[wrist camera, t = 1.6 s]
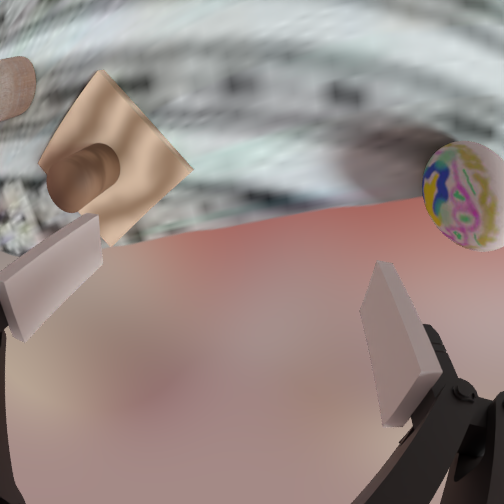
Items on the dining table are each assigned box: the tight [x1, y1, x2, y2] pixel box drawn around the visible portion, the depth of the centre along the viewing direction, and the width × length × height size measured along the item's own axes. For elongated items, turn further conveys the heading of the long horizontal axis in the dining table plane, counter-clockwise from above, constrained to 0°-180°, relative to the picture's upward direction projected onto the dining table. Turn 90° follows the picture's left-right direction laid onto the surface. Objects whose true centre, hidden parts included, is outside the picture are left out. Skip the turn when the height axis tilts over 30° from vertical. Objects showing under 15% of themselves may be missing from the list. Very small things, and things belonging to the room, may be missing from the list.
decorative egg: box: [422, 141, 504, 252], centre depth 29 cm, size 12×12×15 cm
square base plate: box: [38, 70, 194, 247], centre depth 38 cm, size 20×20×10 cm
